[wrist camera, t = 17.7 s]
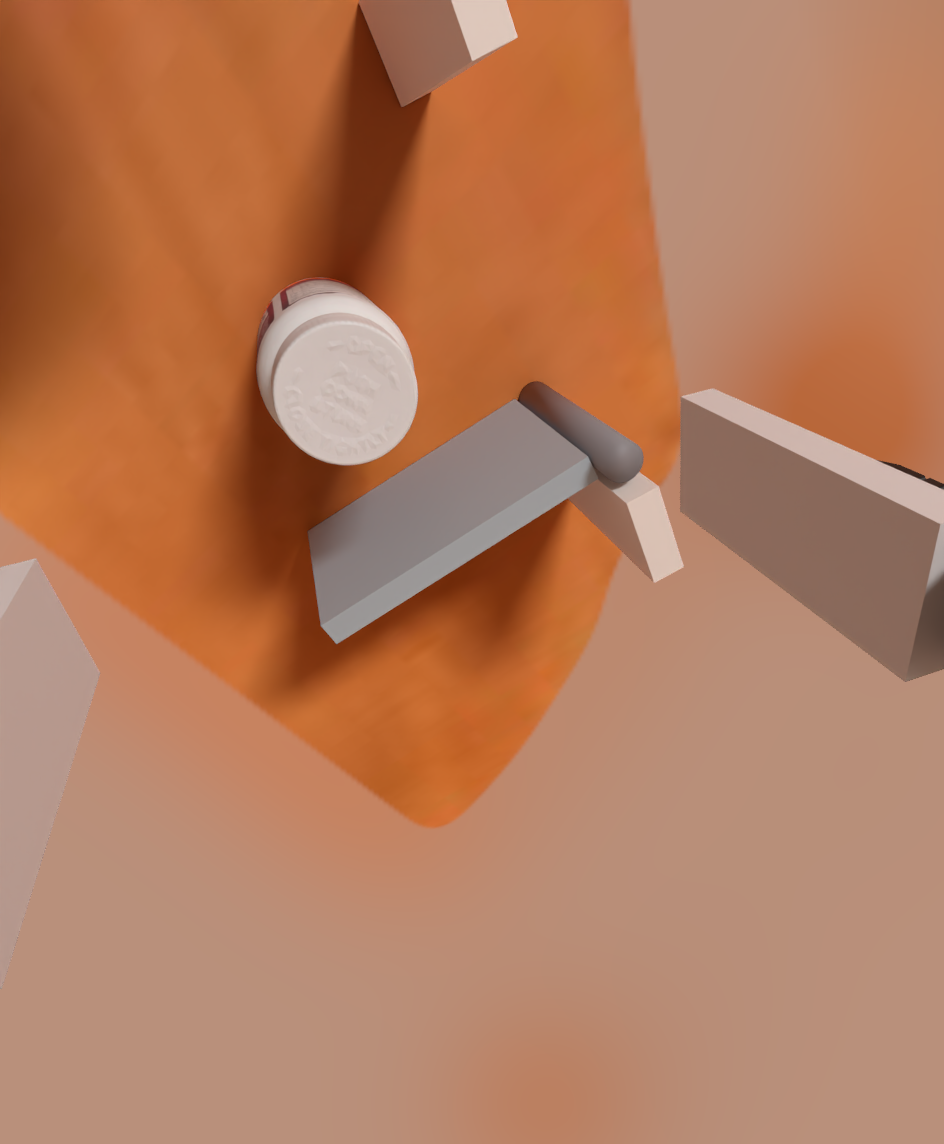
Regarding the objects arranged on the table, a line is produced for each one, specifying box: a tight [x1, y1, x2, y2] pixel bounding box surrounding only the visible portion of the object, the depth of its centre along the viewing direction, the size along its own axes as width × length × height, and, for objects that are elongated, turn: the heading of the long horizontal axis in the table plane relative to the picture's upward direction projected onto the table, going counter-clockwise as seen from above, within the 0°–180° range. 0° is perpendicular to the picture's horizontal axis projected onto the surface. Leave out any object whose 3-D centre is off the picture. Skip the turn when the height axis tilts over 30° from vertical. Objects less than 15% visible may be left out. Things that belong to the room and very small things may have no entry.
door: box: [308, 382, 643, 644], centre depth 34 cm, size 15×3×11 cm, turn 119°
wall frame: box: [359, 0, 684, 583], centre depth 30 cm, size 24×2×12 cm, turn 24°
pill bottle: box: [256, 277, 418, 465], centre depth 29 cm, size 6×6×11 cm
